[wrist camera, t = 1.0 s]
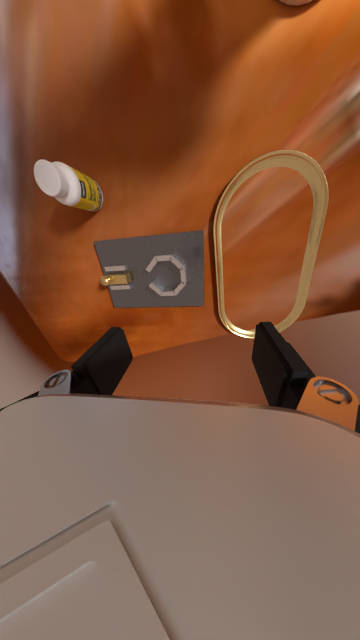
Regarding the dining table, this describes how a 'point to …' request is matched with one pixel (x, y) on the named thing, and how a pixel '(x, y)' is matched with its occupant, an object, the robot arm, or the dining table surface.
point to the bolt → (115, 278)
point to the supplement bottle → (68, 185)
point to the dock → (156, 269)
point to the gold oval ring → (320, 198)
